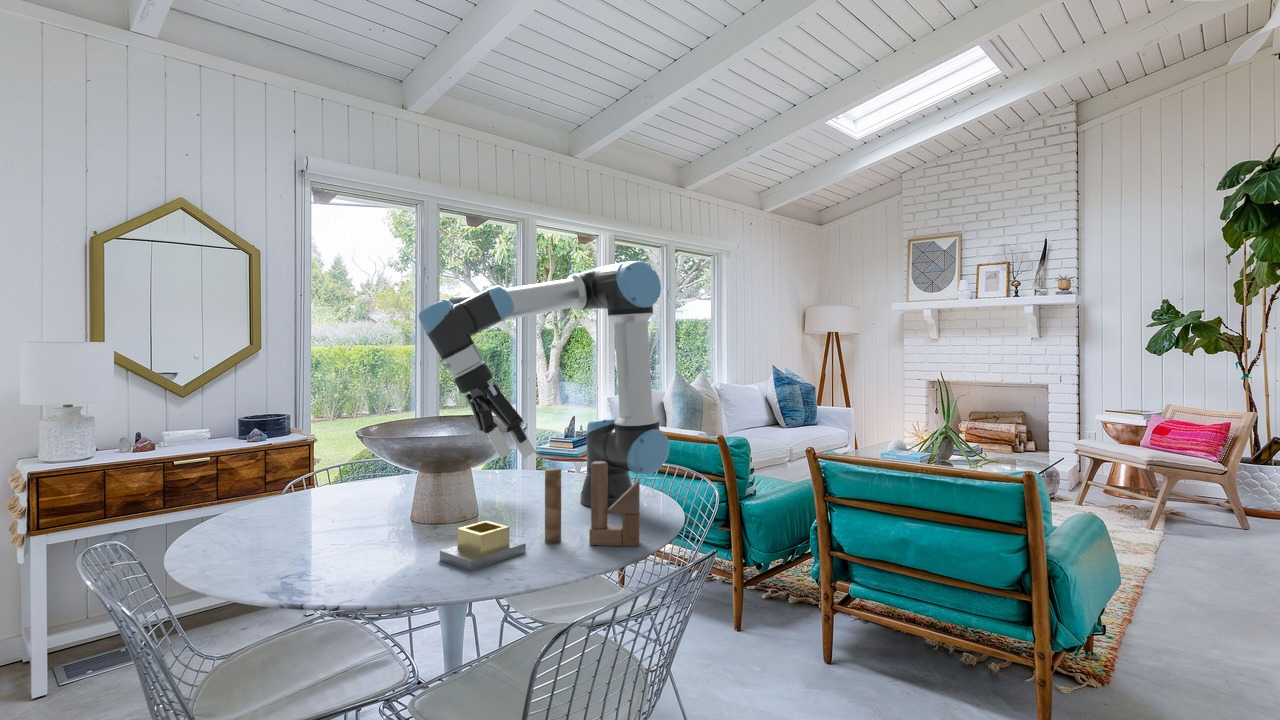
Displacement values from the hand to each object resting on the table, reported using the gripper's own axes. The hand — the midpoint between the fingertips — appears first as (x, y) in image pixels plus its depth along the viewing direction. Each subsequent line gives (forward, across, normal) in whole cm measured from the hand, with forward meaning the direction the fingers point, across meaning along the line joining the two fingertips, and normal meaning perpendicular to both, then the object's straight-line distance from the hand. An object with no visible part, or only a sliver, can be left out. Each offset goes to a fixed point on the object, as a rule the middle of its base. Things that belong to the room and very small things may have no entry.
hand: (517, 455), depth 138 cm
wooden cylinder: (+21, -1, -2) cm, 21 cm away
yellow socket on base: (+14, 0, -17) cm, 22 cm away
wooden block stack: (+27, +8, +6) cm, 29 cm away
